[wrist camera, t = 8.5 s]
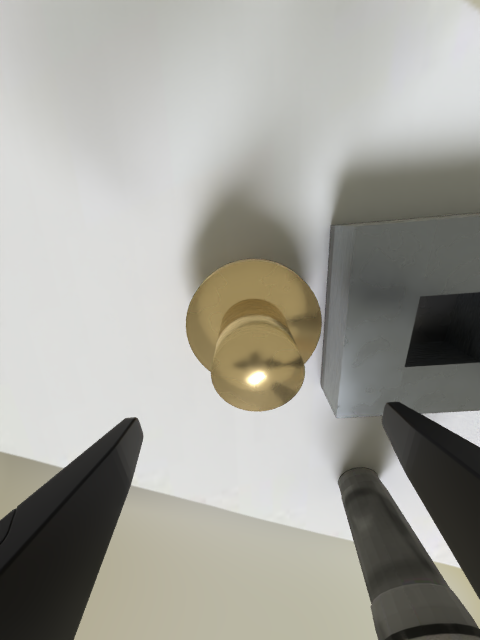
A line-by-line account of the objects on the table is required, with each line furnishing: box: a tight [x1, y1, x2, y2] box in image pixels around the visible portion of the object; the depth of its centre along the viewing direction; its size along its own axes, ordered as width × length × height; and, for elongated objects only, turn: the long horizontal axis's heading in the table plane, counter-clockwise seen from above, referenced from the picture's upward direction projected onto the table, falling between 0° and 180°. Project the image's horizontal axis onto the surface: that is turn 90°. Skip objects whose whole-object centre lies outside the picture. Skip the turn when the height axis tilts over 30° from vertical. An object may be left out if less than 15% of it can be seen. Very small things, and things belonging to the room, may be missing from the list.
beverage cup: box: [338, 468, 480, 640], centre depth 18 cm, size 7×7×20 cm
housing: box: [321, 213, 480, 418], centre depth 17 cm, size 14×14×4 cm
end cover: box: [186, 259, 322, 411], centre depth 15 cm, size 9×9×9 cm
